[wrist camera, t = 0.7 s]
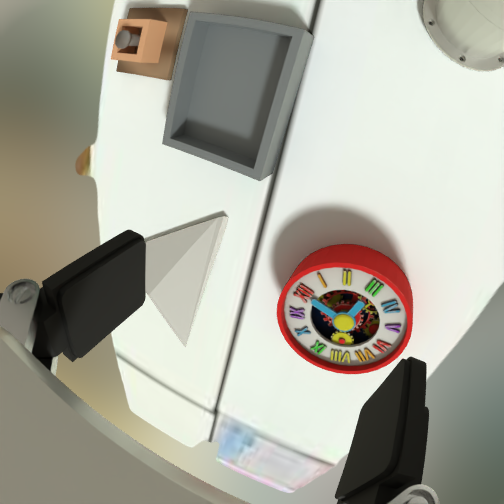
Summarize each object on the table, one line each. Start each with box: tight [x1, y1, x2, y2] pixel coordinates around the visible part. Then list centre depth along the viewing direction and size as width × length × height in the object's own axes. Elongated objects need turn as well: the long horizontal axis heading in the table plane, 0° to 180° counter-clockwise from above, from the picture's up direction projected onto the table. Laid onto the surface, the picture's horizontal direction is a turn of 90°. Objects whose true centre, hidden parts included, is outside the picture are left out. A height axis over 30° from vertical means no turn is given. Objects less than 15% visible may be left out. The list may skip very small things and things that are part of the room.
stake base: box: [115, 8, 188, 80], centre depth 38 cm, size 12×12×7 cm
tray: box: [162, 12, 314, 181], centre depth 38 cm, size 20×16×4 cm
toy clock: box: [277, 244, 413, 374], centre depth 45 cm, size 20×6×20 cm
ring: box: [111, 19, 168, 63], centre depth 39 cm, size 7×7×4 cm
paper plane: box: [145, 216, 228, 347], centre depth 57 cm, size 26×28×4 cm
